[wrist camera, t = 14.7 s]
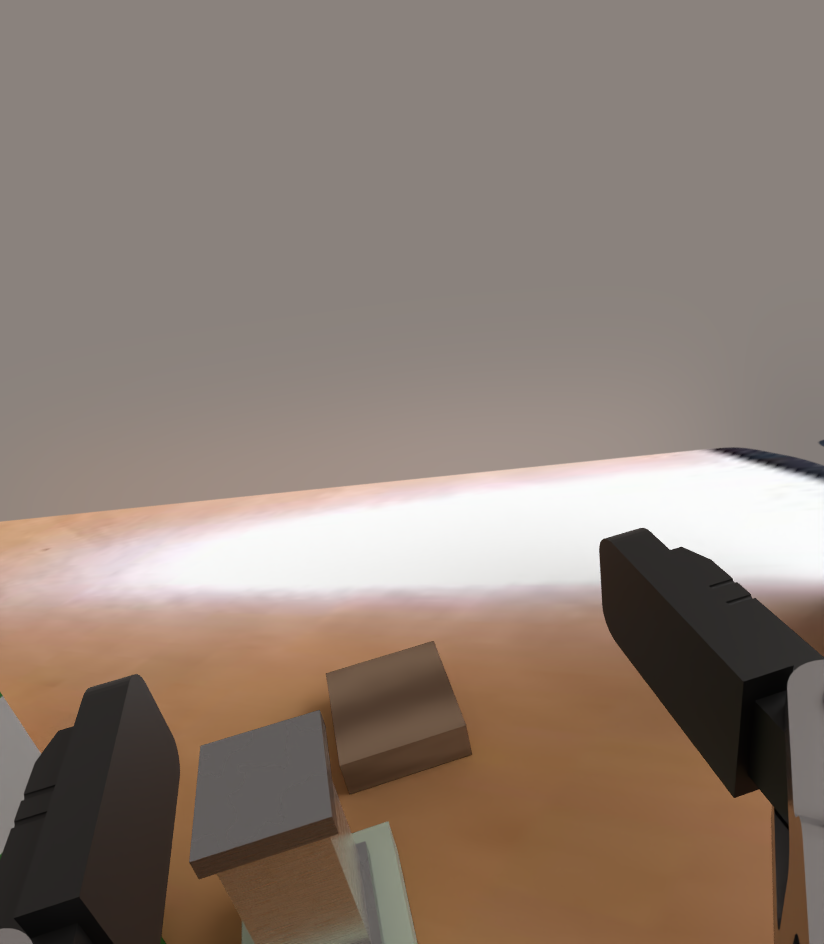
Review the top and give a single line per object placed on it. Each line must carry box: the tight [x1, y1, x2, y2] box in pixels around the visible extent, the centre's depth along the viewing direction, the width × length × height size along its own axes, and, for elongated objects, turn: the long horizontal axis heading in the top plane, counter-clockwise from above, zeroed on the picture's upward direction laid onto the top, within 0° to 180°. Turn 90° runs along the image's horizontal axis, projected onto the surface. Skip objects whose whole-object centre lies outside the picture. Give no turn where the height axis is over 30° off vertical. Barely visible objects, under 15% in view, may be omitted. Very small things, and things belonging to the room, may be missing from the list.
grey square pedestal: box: [189, 710, 384, 944], centre depth 32 cm, size 6×6×12 cm
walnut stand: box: [326, 641, 472, 794], centre depth 49 cm, size 9×9×3 cm
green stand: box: [242, 822, 417, 944], centre depth 36 cm, size 9×9×3 cm
